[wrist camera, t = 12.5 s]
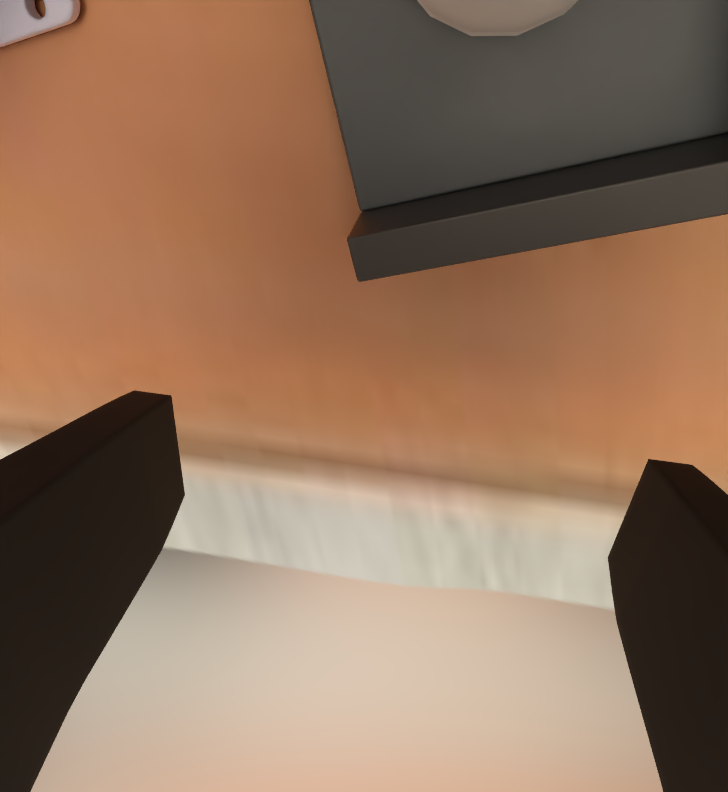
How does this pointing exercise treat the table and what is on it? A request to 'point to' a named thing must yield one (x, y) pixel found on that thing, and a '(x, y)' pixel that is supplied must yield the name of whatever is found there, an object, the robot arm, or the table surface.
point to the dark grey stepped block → (525, 127)
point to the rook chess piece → (495, 14)
